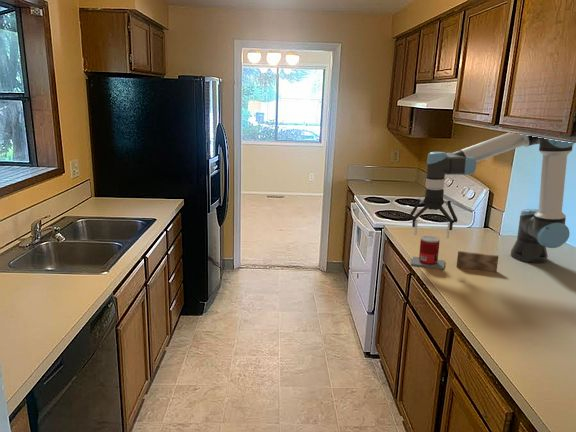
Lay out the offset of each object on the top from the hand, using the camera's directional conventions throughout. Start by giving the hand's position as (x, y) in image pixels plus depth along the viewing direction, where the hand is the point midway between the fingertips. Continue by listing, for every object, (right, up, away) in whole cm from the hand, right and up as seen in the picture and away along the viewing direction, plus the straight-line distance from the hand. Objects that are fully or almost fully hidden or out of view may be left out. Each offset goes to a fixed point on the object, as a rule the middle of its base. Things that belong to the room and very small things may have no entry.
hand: (431, 235), depth 192 cm
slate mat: (-1, -13, +3) cm, 13 cm away
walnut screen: (+19, -14, -3) cm, 24 cm away
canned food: (0, -12, +3) cm, 13 cm away
